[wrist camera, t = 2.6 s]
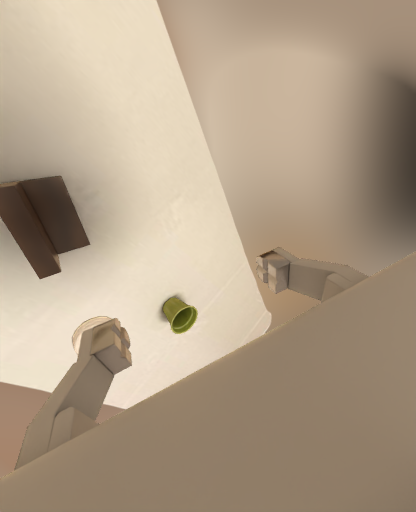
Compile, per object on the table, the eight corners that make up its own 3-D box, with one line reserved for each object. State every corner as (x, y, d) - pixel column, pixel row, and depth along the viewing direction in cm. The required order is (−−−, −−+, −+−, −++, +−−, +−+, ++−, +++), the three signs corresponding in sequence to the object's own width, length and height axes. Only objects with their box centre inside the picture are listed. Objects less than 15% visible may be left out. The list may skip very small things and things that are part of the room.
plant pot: (186, 292, 66) (201, 305, 60) (179, 316, 68) (192, 331, 62) (162, 293, 60) (176, 307, 54) (154, 319, 62) (167, 336, 56)
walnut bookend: (39, 258, 38) (39, 279, 31) (-4, 184, 32) (-17, 189, 24) (89, 243, 43) (99, 258, 36) (60, 175, 36) (65, 178, 29)
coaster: (97, 309, 49) (100, 317, 47) (123, 326, 55) (127, 333, 53) (61, 340, 46) (63, 350, 44) (93, 354, 53) (96, 364, 50)
